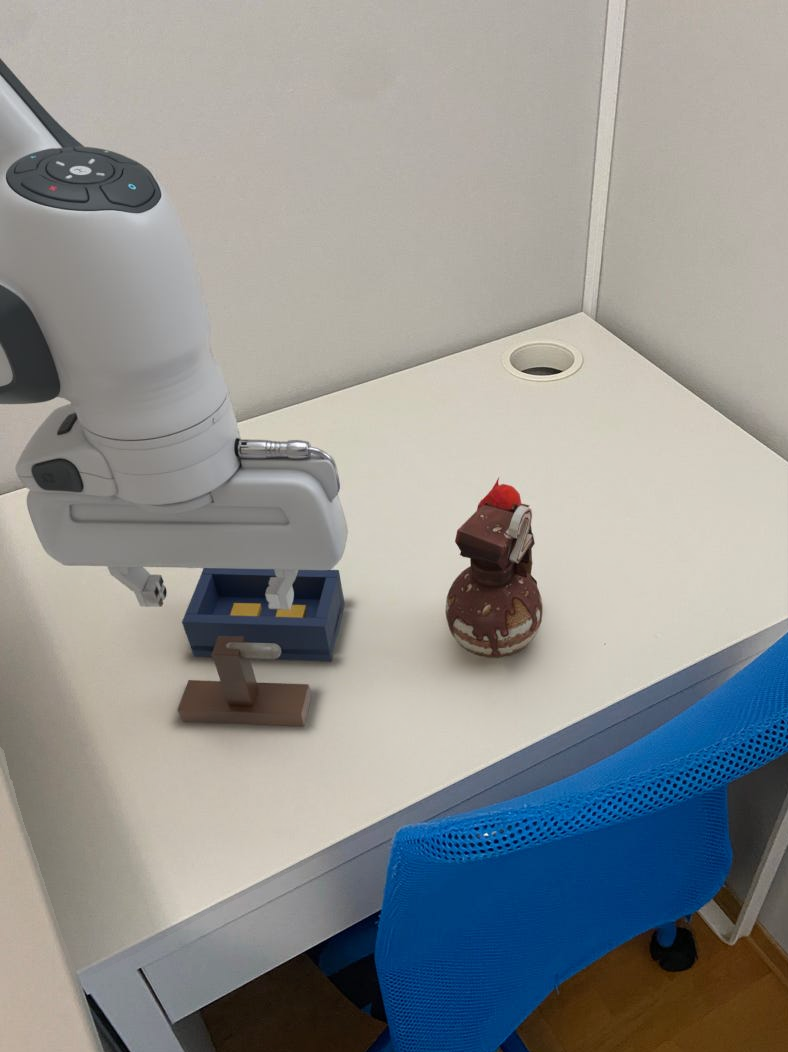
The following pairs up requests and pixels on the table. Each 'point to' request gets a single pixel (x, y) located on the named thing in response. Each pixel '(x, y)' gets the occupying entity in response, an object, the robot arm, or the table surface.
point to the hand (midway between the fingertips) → (218, 602)
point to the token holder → (266, 612)
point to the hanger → (243, 690)
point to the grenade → (496, 578)
